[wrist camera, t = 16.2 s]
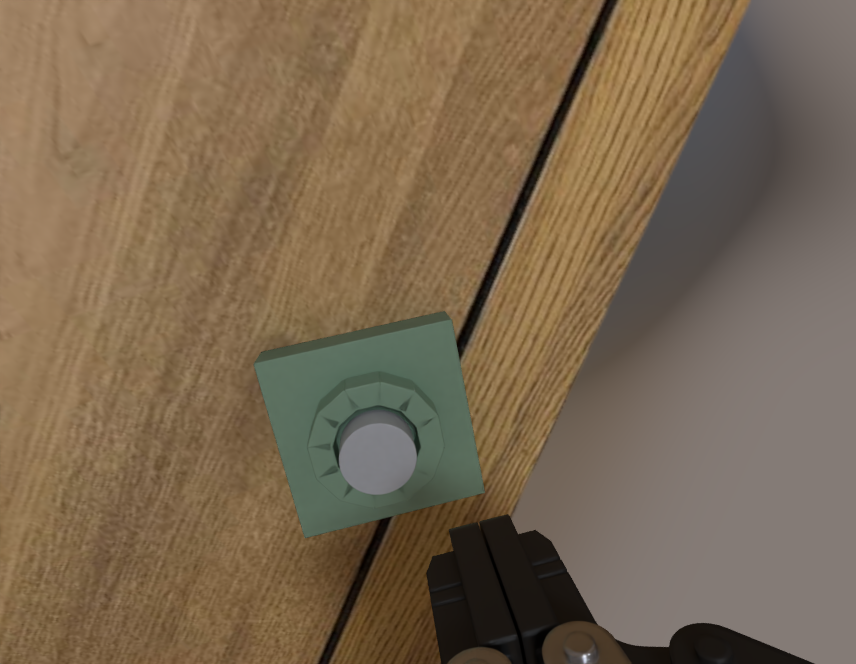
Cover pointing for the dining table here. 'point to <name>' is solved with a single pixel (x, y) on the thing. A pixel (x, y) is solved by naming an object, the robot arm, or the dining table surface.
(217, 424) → the dining table surface
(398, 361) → the button block
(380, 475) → the button
